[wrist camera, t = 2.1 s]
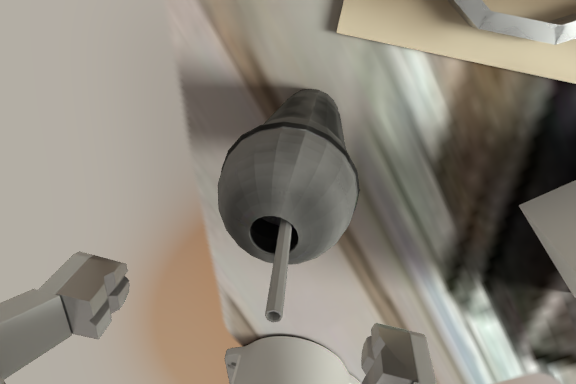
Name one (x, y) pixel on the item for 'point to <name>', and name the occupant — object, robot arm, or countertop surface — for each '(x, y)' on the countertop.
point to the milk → (556, 228)
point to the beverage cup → (289, 188)
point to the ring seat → (474, 31)
